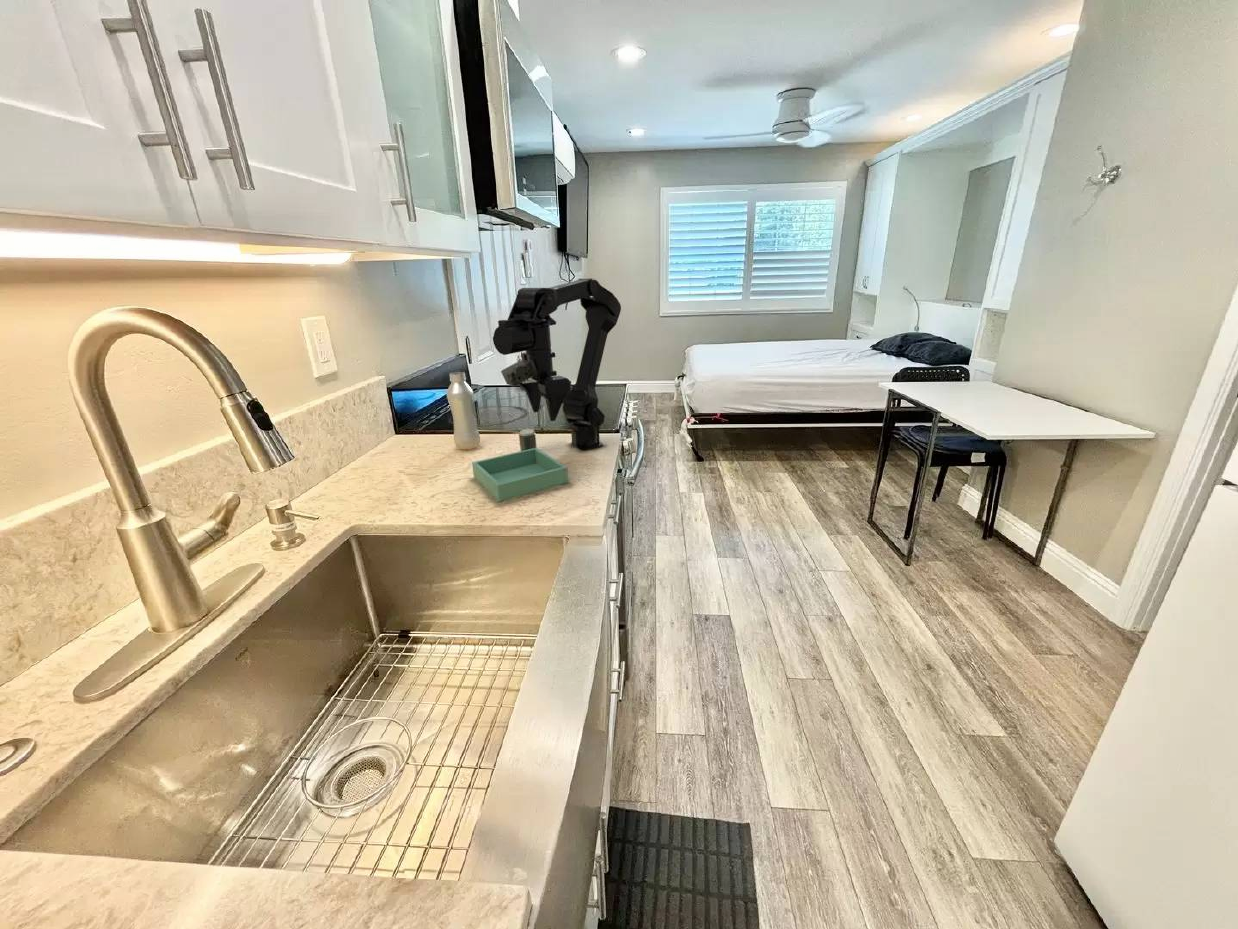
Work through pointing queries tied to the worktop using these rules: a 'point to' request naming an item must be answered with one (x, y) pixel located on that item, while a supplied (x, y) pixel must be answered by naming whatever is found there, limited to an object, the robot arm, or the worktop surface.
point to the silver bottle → (462, 412)
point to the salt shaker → (527, 439)
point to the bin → (519, 473)
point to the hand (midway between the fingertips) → (544, 416)
